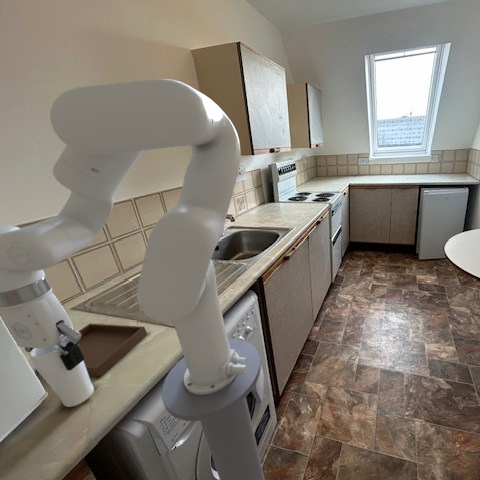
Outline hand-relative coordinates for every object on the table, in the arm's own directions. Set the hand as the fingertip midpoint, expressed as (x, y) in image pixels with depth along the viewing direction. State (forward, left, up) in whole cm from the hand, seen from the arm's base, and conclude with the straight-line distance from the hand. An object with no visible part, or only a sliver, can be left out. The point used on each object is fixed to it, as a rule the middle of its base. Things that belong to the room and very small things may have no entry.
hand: (61, 363), depth 56 cm
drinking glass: (0, 0, -10) cm, 10 cm away
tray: (+10, -13, -10) cm, 19 cm away
